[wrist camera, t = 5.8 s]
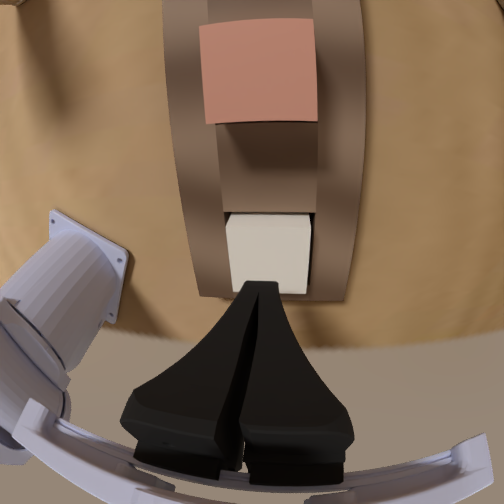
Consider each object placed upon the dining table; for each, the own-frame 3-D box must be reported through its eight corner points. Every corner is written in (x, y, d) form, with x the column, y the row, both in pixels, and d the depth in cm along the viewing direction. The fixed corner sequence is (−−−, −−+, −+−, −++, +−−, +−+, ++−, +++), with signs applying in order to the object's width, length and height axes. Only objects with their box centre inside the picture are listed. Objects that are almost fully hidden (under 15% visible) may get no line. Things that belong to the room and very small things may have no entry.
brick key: (310, 115, 11) (317, 121, 9) (223, 117, 11) (205, 124, 9) (307, 35, 9) (313, 18, 6) (217, 39, 9) (198, 25, 7)
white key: (304, 263, 17) (305, 293, 15) (241, 262, 17) (233, 291, 15) (307, 203, 15) (310, 227, 12) (235, 203, 15) (225, 226, 13)
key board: (339, 280, 18) (343, 300, 16) (207, 277, 19) (199, 296, 17) (331, -84, 4) (335, -99, 3) (178, -74, 5) (166, -86, 4)
